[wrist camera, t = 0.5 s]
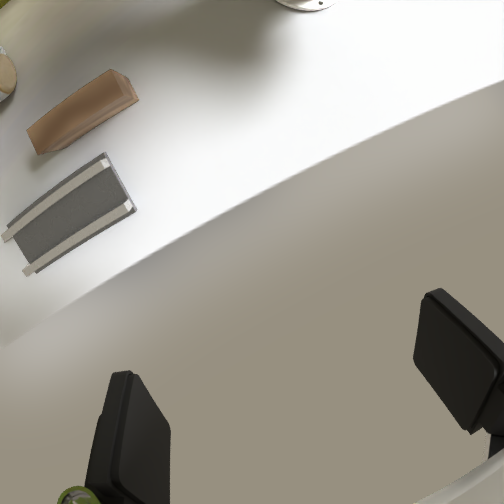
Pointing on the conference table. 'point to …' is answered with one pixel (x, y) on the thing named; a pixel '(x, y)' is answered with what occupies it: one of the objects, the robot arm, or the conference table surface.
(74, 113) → the door panel
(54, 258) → the floor track
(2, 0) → the ammo box
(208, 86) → the conference table surface
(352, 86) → the conference table surface
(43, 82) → the conference table surface
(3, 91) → the ceramic mug
